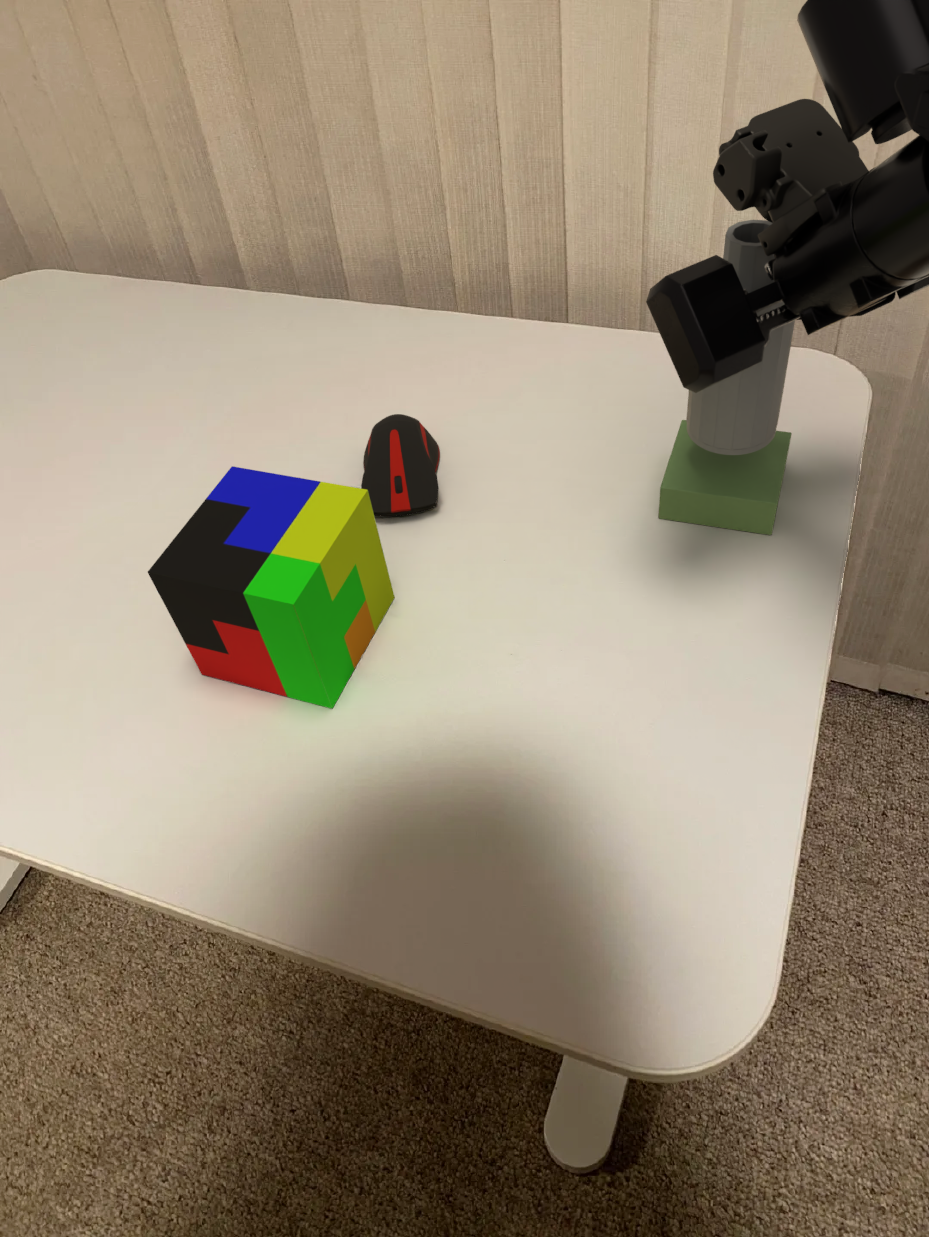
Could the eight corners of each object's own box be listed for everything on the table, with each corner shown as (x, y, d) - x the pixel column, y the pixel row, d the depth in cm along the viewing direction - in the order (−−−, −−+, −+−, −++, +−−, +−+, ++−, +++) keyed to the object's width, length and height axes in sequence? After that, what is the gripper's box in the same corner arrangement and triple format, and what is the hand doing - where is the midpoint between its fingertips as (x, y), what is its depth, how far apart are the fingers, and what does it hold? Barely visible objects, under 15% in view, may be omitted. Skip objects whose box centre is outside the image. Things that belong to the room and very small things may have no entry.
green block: (771, 535, 65) (777, 503, 63) (658, 518, 67) (660, 487, 65) (785, 464, 70) (791, 432, 68) (679, 450, 72) (681, 419, 70)
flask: (767, 461, 61) (800, 262, 51) (677, 448, 63) (691, 253, 53) (782, 408, 65) (816, 212, 55) (697, 397, 67) (713, 205, 57)
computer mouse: (362, 529, 70) (352, 489, 67) (364, 440, 78) (354, 401, 75) (444, 518, 70) (437, 478, 67) (438, 431, 77) (431, 390, 74)
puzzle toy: (272, 571, 68) (231, 466, 61) (394, 597, 65) (367, 489, 58) (201, 674, 62) (147, 572, 55) (332, 708, 59) (293, 604, 52)
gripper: (978, 12, 46) (791, 168, 62) (678, 121, 42) (555, 262, 57) (1060, 219, 47) (856, 323, 62) (775, 349, 43) (629, 428, 58)
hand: (728, 330), depth 60 cm, fingers closed on flask, 6 cm apart
